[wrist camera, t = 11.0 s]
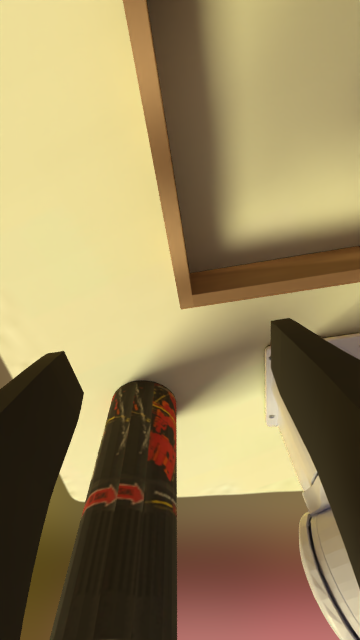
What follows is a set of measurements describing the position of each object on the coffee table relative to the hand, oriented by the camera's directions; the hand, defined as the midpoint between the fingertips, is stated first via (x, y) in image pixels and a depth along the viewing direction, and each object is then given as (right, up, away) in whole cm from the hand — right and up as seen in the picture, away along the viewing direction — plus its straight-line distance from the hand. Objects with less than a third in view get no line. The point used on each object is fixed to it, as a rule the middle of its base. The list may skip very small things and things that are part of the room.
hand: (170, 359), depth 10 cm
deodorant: (-3, -6, +16) cm, 18 cm away
